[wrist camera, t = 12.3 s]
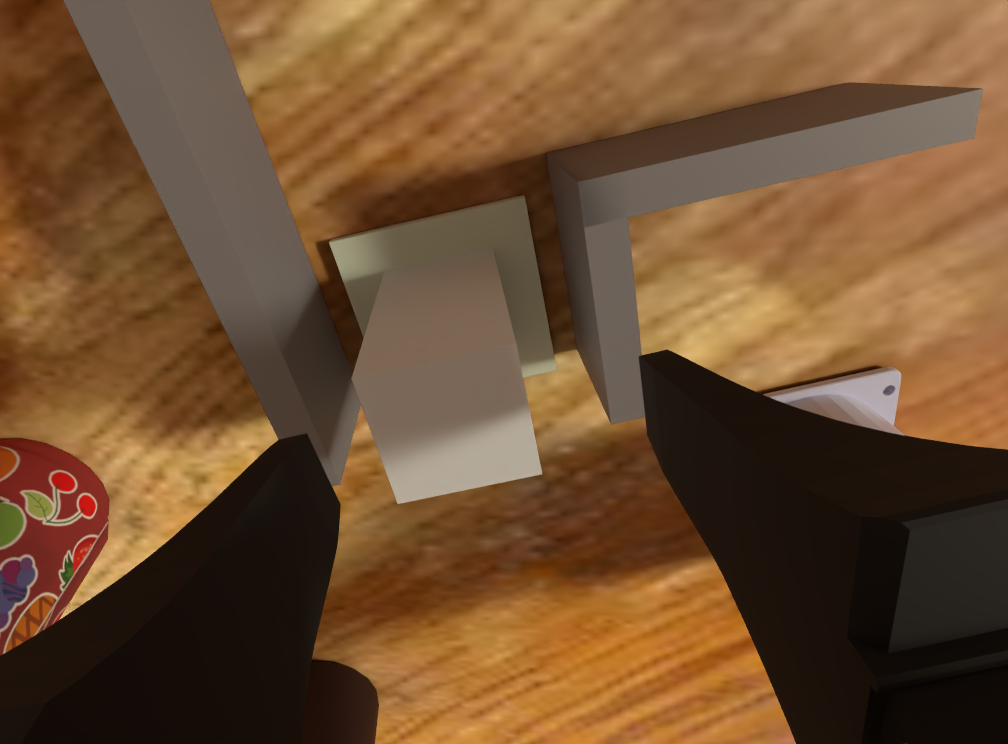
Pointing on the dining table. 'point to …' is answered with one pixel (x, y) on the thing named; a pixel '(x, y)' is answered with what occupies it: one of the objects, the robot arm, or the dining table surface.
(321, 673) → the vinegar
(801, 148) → the rails
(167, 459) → the dining table surface
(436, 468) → the block
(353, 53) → the dining table surface
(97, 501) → the smoothie
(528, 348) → the mat
